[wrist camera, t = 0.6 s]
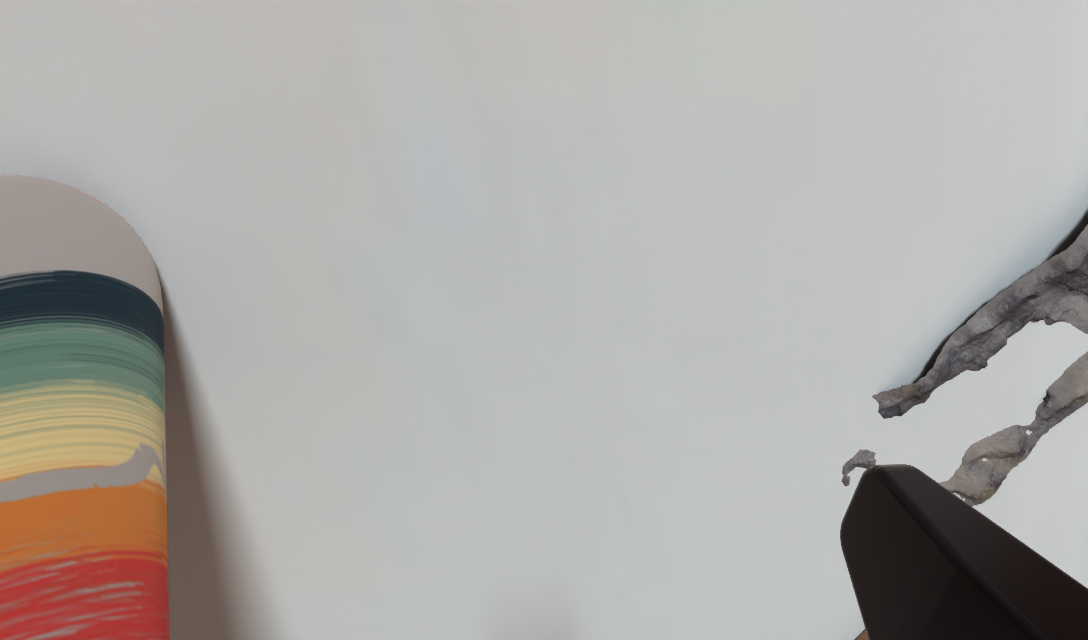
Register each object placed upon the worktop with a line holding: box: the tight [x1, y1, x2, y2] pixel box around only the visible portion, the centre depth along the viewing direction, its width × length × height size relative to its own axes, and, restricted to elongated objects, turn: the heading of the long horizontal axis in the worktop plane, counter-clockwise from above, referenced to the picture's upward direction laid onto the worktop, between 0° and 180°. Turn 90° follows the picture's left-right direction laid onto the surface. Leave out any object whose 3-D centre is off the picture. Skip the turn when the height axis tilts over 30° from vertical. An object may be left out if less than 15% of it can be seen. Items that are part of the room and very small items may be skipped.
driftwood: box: [842, 224, 1088, 507], centre depth 27 cm, size 21×7×2 cm, turn 139°
